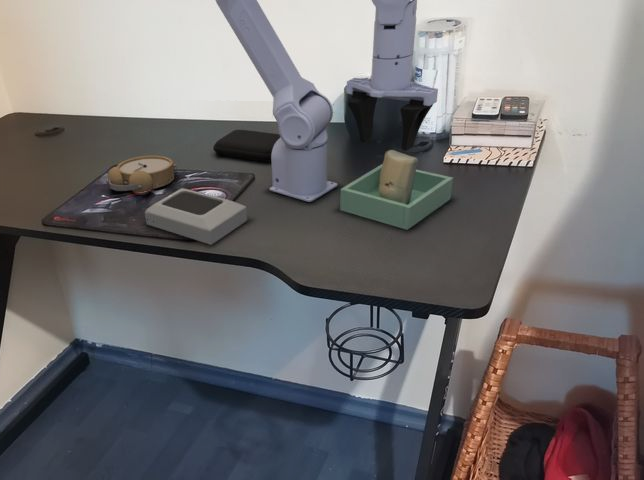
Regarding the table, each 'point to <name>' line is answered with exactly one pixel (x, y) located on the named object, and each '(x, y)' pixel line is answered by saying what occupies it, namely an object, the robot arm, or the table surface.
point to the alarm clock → (141, 174)
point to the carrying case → (247, 145)
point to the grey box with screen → (196, 215)
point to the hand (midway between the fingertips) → (386, 144)
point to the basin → (369, 204)
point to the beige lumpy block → (397, 176)
